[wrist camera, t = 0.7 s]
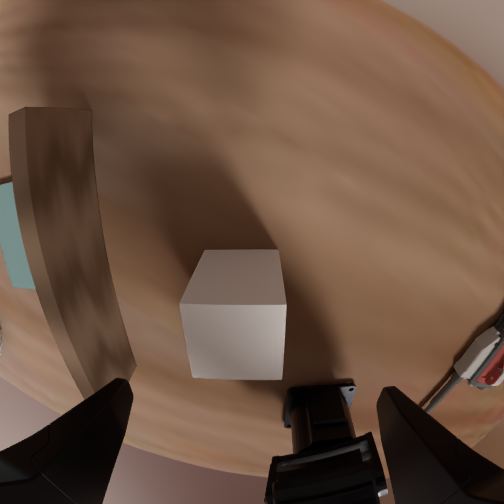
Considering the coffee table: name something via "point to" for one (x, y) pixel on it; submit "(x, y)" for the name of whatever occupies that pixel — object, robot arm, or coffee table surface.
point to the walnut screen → (68, 242)
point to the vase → (0, 343)
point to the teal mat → (13, 240)
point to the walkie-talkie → (478, 363)
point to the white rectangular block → (235, 315)
